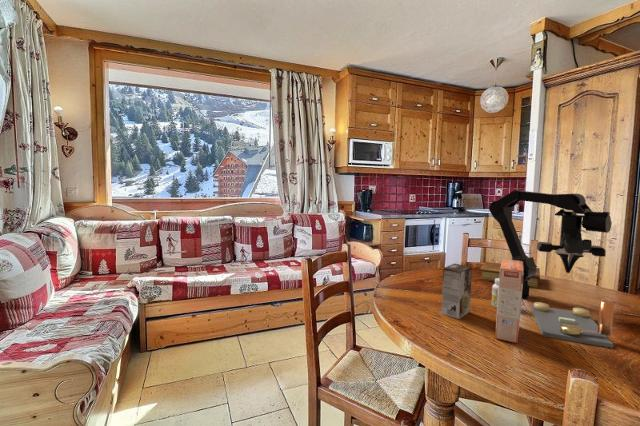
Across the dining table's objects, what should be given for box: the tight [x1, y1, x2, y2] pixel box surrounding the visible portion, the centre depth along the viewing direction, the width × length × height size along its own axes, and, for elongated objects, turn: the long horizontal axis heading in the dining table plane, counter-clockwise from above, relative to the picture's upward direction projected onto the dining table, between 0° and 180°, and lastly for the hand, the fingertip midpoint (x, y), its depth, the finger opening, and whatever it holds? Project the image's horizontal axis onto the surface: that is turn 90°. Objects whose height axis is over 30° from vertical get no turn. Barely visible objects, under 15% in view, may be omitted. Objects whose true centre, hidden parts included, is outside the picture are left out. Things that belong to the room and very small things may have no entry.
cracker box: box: [494, 259, 523, 344], centre depth 97 cm, size 14×6×21 cm, turn 148°
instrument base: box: [530, 301, 614, 349], centre depth 103 cm, size 16×24×3 cm, turn 154°
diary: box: [479, 261, 541, 290], centre depth 154 cm, size 23×19×6 cm
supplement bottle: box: [491, 278, 499, 308], centre depth 120 cm, size 5×5×10 cm
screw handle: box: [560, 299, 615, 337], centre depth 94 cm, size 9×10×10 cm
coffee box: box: [441, 263, 473, 320], centre depth 112 cm, size 9×6×16 cm
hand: (567, 272), depth 117 cm, fingers closed
